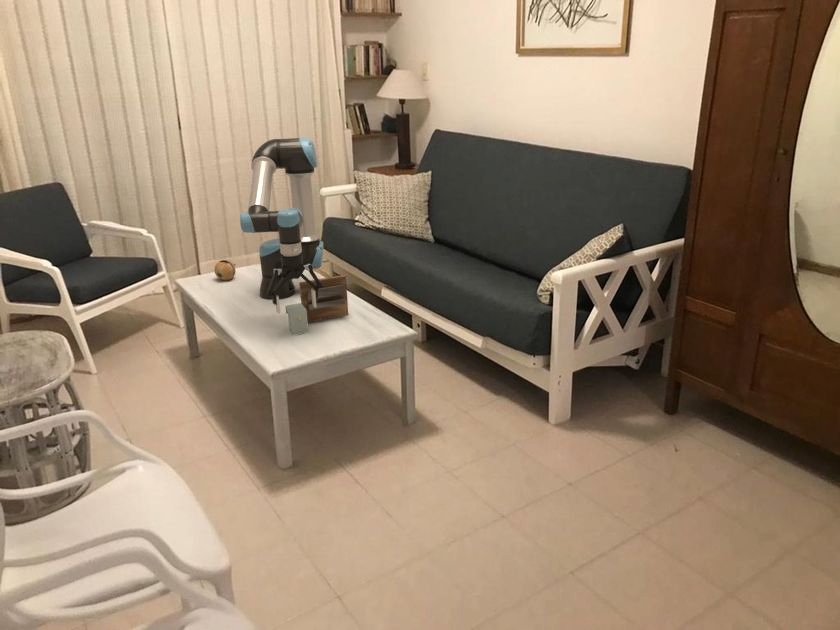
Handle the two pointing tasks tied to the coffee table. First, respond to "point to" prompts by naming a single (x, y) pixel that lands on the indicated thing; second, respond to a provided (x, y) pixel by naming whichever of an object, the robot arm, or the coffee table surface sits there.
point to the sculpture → (225, 270)
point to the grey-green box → (297, 318)
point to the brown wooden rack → (325, 298)
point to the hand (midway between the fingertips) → (296, 309)
